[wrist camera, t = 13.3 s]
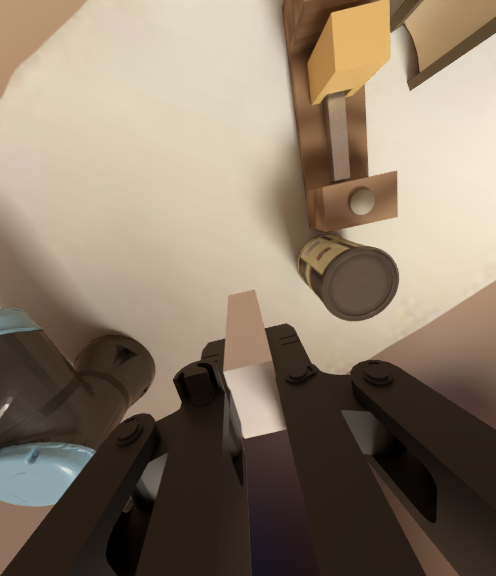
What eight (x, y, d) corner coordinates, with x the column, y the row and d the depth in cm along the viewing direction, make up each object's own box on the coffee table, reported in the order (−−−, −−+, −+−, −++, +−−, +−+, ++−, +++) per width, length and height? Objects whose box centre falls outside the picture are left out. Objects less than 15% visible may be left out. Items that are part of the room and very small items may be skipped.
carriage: (352, 95, 35) (390, 58, 26) (311, 105, 35) (335, 71, 26) (349, 53, 34) (389, -2, 25) (307, 63, 34) (331, 12, 25)
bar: (344, 179, 39) (350, 177, 37) (330, 182, 39) (334, 181, 37) (335, 48, 34) (341, 38, 32) (318, 52, 34) (323, 43, 32)
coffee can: (337, 295, 47) (376, 330, 34) (288, 279, 46) (309, 310, 32) (361, 244, 44) (414, 261, 31) (310, 226, 43) (341, 235, 29)
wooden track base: (365, 214, 42) (400, 217, 33) (309, 226, 43) (328, 232, 34) (354, -12, 33) (398, -95, 24) (282, 7, 33) (298, -69, 24)
